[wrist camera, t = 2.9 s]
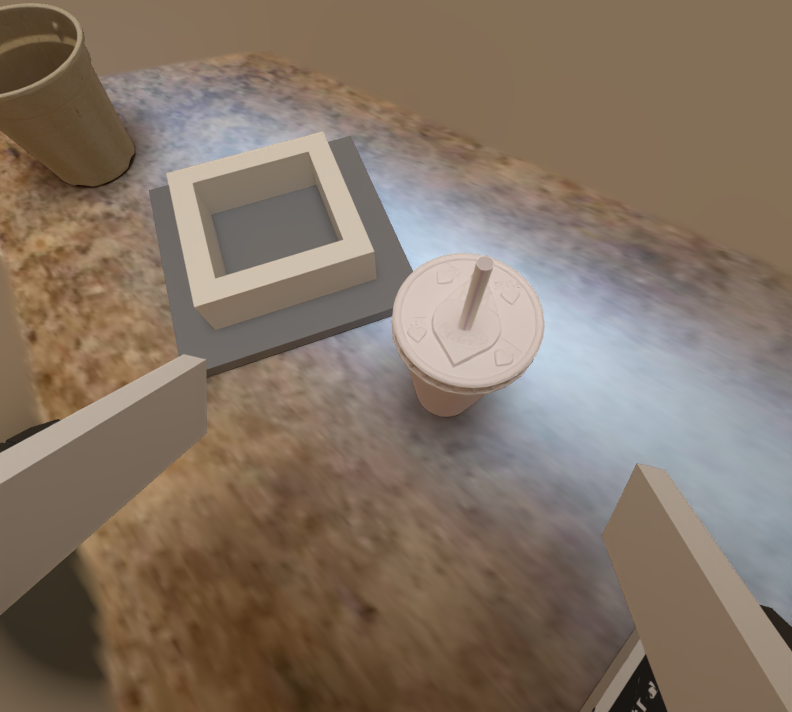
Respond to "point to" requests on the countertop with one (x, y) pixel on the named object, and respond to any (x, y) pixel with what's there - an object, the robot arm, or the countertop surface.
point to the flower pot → (58, 97)
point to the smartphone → (627, 683)
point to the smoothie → (465, 329)
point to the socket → (274, 250)
